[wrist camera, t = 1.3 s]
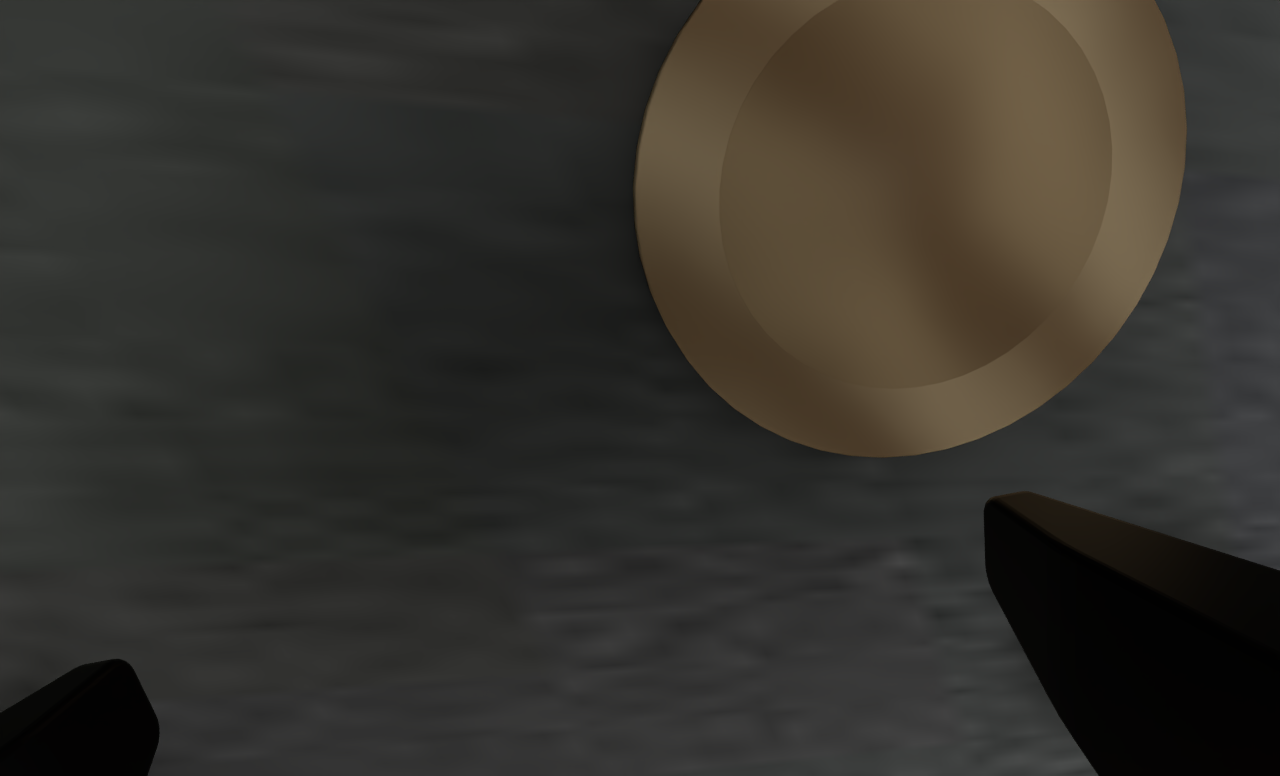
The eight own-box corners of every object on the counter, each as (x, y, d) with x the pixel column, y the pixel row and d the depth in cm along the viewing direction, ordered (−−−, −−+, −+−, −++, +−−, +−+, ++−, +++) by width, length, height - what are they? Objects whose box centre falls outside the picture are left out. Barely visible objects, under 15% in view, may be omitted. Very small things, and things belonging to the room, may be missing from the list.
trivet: (941, 523, 25) (958, 540, 24) (530, 285, 21) (529, 294, 20) (1263, 102, 22) (1299, 101, 21) (847, -255, 18) (864, -277, 17)
